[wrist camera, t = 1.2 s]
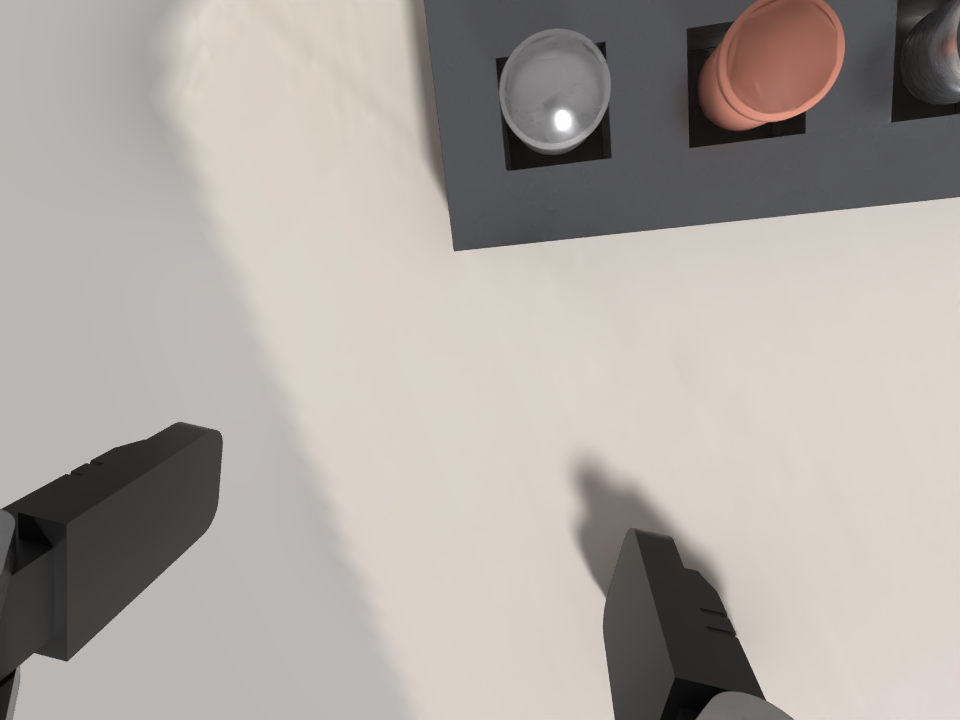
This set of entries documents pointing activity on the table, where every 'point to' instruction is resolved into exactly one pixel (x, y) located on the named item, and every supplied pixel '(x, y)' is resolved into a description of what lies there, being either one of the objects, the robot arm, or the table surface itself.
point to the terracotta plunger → (772, 64)
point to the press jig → (673, 126)
